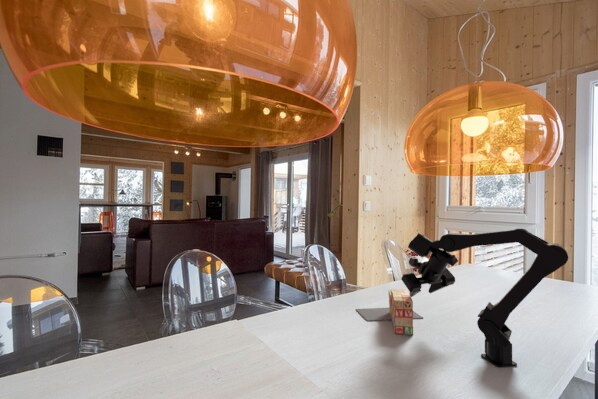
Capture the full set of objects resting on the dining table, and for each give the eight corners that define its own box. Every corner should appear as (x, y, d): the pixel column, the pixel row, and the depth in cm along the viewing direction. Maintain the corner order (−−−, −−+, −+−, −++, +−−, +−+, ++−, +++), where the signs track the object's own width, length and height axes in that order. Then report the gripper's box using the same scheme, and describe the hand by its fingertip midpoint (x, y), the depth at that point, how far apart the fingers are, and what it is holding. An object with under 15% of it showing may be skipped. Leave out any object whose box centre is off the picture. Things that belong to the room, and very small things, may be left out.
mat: (423, 318, 118) (423, 317, 118) (367, 321, 115) (367, 320, 115) (406, 307, 131) (406, 306, 131) (355, 309, 127) (355, 308, 127)
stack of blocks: (389, 311, 124) (388, 282, 124) (404, 311, 123) (403, 282, 123) (394, 334, 103) (394, 299, 103) (413, 335, 102) (412, 300, 102)
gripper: (443, 245, 108) (427, 273, 117) (400, 251, 102) (387, 280, 111) (464, 268, 99) (446, 296, 108) (418, 276, 94) (403, 305, 103)
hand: (420, 294), depth 108 cm, fingers open, 8 cm apart
